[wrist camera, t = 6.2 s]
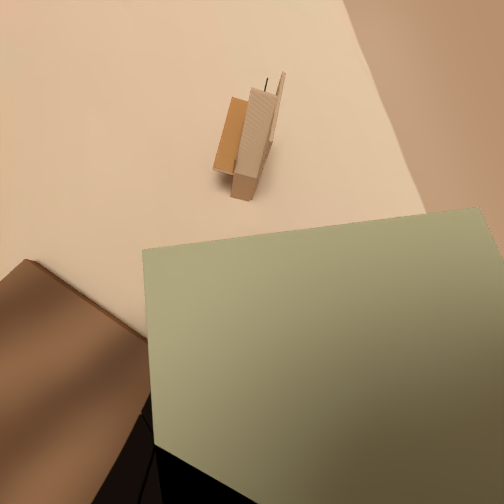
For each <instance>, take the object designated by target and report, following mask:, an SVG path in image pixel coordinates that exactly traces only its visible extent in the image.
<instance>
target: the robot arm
mask: <svg viewBox="0 0 504 504" xmlns="http://www.w3.org/2000/svg"><path fill="white" fill-rule="evenodd" d="M91 504H163V502H162V495H161V488H160V481H159V474H158V467H157V460H156V452H155V445H154V431H153V415H152V400H151V391H150V393H149V395H148V397H147V399H146V401H145V404H144V406H143V408H142V410H141V414H139V416H138V418H137V420H136V422H135V424H134V426H133V428H132V430H131V432H130V434H129V436H128V438H127V440H126V442H125V444H124V446H123V447H122V449H121V451H120V453H119V455H118V457H117V459H116V461H115V462H114V464H113V466H112V468H111V469H110V471H109V473H108V475H107V476H106V478H105V480H104V482H103V484H102V485H101V487H100V489H99V490H98V492H97V494H96V495H95V497H94V499H93V501H92V502H91Z"/></svg>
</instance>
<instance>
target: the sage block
mask: <svg viewBox="0 0 504 504" xmlns="http://www.w3.org/2000/svg"><path fill="white" fill-rule="evenodd" d="M142 257H143V272H144V288H145V304H146V320H147V336H148V352H149V368H150V384H151V400H152V415H153V431H154V445H155V452H156V460H157V467H158V474H159V481H160V488H161V495H162V502H163V504H504V260H503V258H502V256H501V254H500V251H499V249H498V247H497V245H496V243H495V240H494V238H493V236H492V234H491V231H490V229H489V227H488V225H487V223H486V220H485V218H484V216H483V214H482V212H481V210H480V207H475V208H468V209H460V210H452V211H444V212H436V213H428V214H420V215H412V216H404V217H396V218H389V219H381V220H373V221H365V222H357V223H349V224H341V225H333V226H325V227H317V228H310V229H302V230H294V231H286V232H278V233H270V234H262V235H254V236H246V237H239V238H231V239H223V240H215V241H207V242H199V243H191V244H183V245H175V246H168V247H160V248H152V249H144V250H142Z"/></svg>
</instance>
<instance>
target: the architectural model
mask: <svg viewBox="0 0 504 504" xmlns="http://www.w3.org/2000/svg"><path fill="white" fill-rule="evenodd" d="M285 74H286V73H285V72H282V75H281V78H280V82H279V85H278V89H277V92H276V95H273V94H270V93H267V92H265V90H266V85H267V81H268V78H267V81H266V85H265V89H264V91H261V90H258V89H255V88H252V87H251V91H250V96H249V101H248V102H247V101H244V100H241V99H237V98H234V97H232V99H231V103H230V107H229V110H228V114H227V118H226V121H225V125H224V129H223V132H222V136H221V140H220V143H219V147H218V151H217V154H216V158H215V162H214V165H213V170H215V171H219V172H223V173H226V174H230V175H234V176H233V183H232V189H231V196H230V197H233V198H237V199H241V200H245V201H249V199H250V200H252V198H253V195H254V192H255V189H256V186H257V184H258V181H259V178H260V175H261V173H262V170H263V167H264V164H265V162H266V159H267V156H268V153H269V151H270V148H271V145H272V142H273V137H274V132H275V127H276V121H277V116H278V111H279V105H280V100H281V95H282V90H283V84H284V79H285Z"/></svg>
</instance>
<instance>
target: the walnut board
mask: <svg viewBox="0 0 504 504" xmlns="http://www.w3.org/2000/svg"><path fill="white" fill-rule="evenodd" d="M150 391H151V384H150V368H149V352H148V340H147V339H145V338H144V337H143V336H141V335H140V334H138V333H137V332H135V331H134V330H133V329H131V328H130V327H128V326H127V325H125V324H124V323H123V322H121V321H120V320H118V319H117V318H115V317H114V316H113V315H111V314H110V313H108V312H107V311H105V310H104V309H103V308H101V307H100V306H98V305H97V304H95V303H94V302H93V301H91V300H90V299H88V298H87V297H85V296H84V295H83V294H81V293H80V292H78V291H77V290H75V289H74V288H73V287H71V286H70V285H68V284H67V283H65V282H64V281H63V280H61V279H60V278H58V277H57V276H55V275H54V274H53V273H51V272H50V271H48V270H47V269H45V268H44V267H43V266H41V265H40V264H38V263H37V262H35V261H32V260H28V259H24V260H23V261H22V262H21V263H20V264H19V265H18V266H17V267H16V268H15V269H13V270H12V271H11V272H10V273H9V274H8V275H7V276H6V277H5V278H4V279H3V280H1V281H0V504H91V502H92V501H93V499H94V497H95V495H96V494H97V492H98V490H99V489H100V487H101V485H102V484H103V482H104V480H105V478H106V476H107V475H108V473H109V471H110V469H111V468H112V466H113V464H114V462H115V461H116V459H117V457H118V455H119V453H120V451H121V449H122V447H123V446H124V444H125V442H126V440H127V438H128V436H129V434H130V432H131V430H132V428H133V426H134V424H135V422H136V420H137V418H138V416H139V414H141V410H142V408H143V406H144V404H145V401H146V399H147V397H148V395H149V393H150Z"/></svg>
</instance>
